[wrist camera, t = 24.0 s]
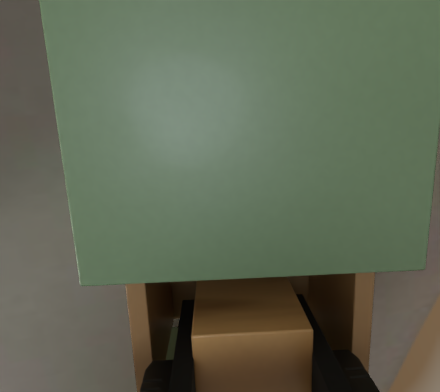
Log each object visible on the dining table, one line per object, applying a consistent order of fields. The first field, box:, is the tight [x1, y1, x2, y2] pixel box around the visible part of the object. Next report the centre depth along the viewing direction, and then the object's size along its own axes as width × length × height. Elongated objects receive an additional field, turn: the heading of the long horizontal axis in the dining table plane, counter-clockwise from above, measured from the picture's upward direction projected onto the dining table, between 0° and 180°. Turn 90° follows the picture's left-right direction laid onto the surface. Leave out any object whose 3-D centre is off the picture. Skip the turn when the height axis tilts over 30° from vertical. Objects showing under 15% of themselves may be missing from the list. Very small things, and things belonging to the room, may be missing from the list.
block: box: [191, 277, 313, 392], centre depth 15 cm, size 4×4×4 cm
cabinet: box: [39, 0, 440, 286], centre depth 15 cm, size 15×13×10 cm
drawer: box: [125, 272, 375, 392], centre depth 18 cm, size 19×11×8 cm, turn 2°
